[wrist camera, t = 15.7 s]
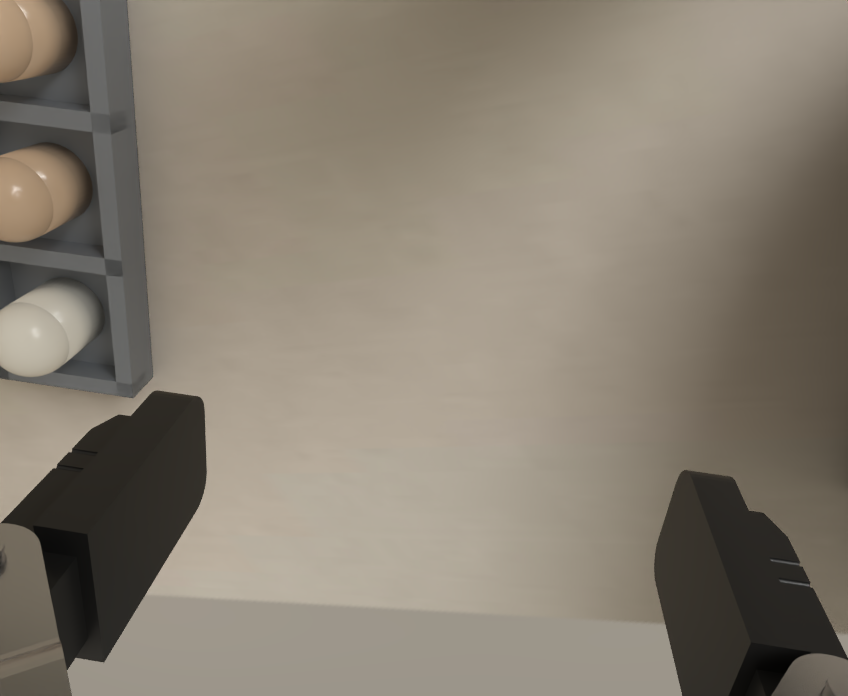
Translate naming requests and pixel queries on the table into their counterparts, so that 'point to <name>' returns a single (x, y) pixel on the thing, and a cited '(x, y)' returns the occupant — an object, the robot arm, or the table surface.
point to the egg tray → (110, 206)
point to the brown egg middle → (41, 190)
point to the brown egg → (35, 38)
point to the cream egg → (48, 327)
